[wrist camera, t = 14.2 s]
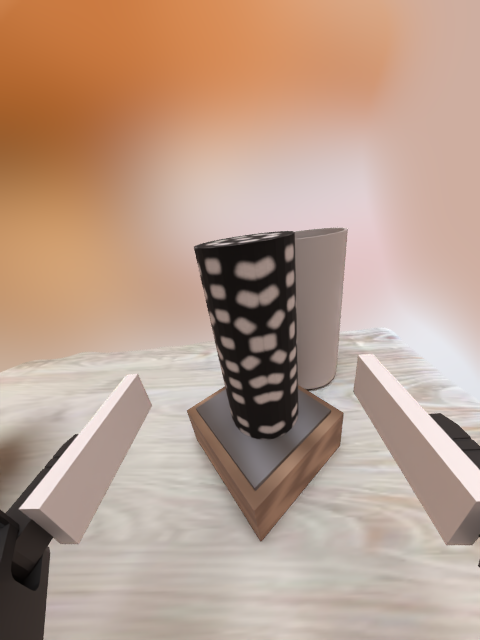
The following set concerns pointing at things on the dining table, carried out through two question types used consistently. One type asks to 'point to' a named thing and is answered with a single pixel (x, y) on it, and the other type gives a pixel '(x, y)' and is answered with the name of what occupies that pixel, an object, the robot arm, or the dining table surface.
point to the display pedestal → (267, 455)
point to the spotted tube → (255, 327)
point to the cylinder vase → (318, 302)
